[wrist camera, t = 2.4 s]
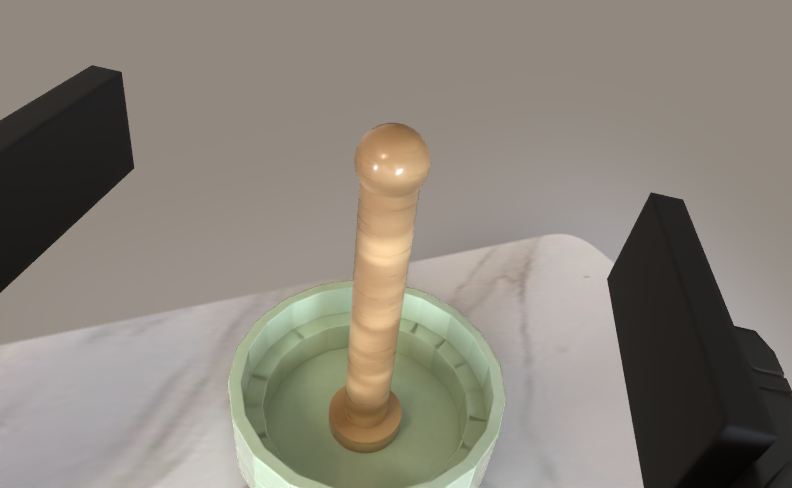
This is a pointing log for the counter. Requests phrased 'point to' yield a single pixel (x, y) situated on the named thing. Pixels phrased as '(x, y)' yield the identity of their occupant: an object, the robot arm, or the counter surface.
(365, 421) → the wooden pestle
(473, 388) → the bowl
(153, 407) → the counter surface
